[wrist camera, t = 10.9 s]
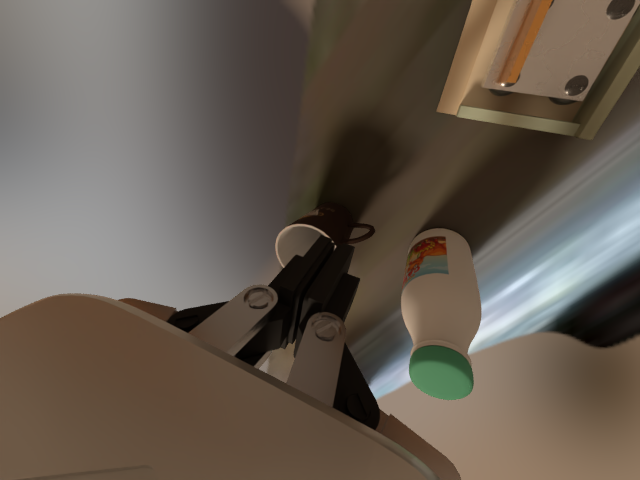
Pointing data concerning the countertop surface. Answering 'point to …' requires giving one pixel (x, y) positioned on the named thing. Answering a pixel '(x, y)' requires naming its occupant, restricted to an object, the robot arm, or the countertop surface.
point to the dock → (527, 109)
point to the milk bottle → (441, 312)
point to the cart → (556, 47)
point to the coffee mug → (318, 231)
